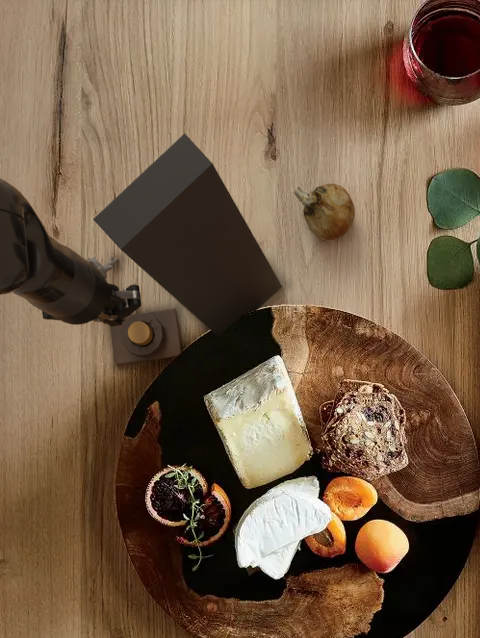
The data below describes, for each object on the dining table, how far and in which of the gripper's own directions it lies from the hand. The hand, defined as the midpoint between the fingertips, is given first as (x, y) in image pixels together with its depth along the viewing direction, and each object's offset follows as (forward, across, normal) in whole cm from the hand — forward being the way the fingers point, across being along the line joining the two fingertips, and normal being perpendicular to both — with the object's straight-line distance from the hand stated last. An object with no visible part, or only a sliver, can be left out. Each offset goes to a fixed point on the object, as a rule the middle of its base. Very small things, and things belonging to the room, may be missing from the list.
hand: (116, 318), depth 110 cm
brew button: (+11, 0, 0) cm, 11 cm away
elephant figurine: (+13, -7, +10) cm, 18 cm away
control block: (+13, 0, 0) cm, 13 cm away
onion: (+13, +29, +14) cm, 35 cm away
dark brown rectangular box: (+13, +11, +8) cm, 19 cm away
